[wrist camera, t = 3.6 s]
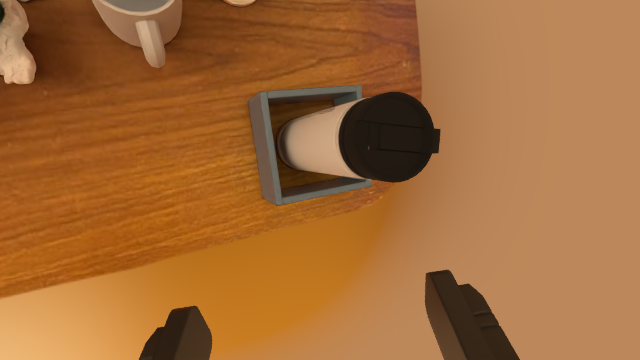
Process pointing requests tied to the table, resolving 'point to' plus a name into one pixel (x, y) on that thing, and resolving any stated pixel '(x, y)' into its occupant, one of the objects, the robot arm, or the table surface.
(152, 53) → the cup
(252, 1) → the coaster
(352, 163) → the travel mug
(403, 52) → the table surface
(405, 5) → the table surface
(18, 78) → the white green lumpy figurine
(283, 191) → the open box
